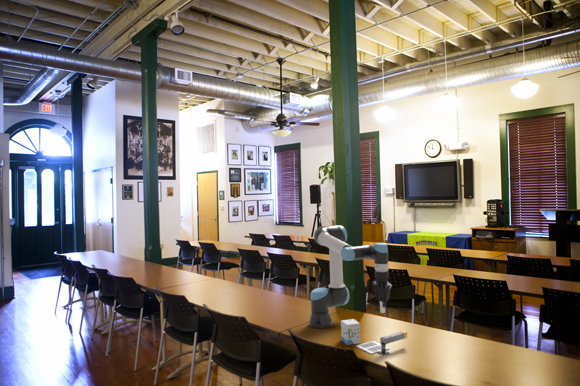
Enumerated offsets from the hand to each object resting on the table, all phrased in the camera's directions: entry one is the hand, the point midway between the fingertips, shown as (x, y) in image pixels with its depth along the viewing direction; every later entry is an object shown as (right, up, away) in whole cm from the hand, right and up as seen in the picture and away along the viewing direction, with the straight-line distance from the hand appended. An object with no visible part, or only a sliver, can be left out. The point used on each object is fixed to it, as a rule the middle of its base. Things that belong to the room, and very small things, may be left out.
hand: (382, 312), depth 218 cm
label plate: (-7, -18, -5) cm, 20 cm away
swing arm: (+4, -13, -9) cm, 16 cm away
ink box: (-17, -19, +5) cm, 26 cm away
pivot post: (-3, -18, -13) cm, 22 cm away
